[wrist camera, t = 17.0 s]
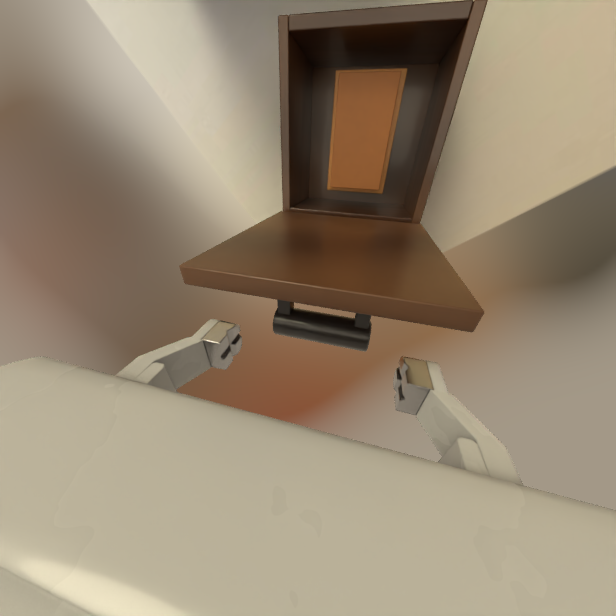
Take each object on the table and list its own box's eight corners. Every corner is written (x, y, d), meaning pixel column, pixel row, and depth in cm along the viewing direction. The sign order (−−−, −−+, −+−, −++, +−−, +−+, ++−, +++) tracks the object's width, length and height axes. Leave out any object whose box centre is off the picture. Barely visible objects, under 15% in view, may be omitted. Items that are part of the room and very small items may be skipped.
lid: (178, 265, 8) (206, 358, 11) (486, 312, 6) (428, 410, 9) (280, 211, 17) (282, 269, 20) (421, 223, 15) (402, 286, 18)
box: (307, 59, 17) (277, 14, 12) (449, 54, 15) (489, -3, 10) (304, 202, 23) (282, 215, 18) (407, 211, 21) (418, 228, 16)
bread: (381, 189, 20) (382, 195, 17) (332, 186, 21) (324, 191, 18) (402, 82, 16) (409, 63, 13) (341, 83, 17) (333, 65, 14)
